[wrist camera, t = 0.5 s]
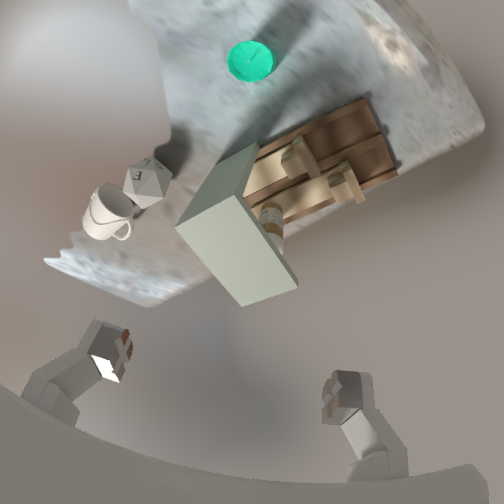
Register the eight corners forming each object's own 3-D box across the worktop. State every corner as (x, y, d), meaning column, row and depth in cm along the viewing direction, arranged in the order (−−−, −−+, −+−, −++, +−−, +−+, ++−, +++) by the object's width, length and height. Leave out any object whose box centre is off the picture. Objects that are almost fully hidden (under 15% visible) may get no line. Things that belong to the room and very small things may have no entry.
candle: (233, 66, 41) (215, 69, 32) (252, 38, 38) (240, 31, 28) (264, 84, 43) (255, 91, 33) (284, 56, 39) (282, 54, 30)
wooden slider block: (301, 133, 46) (302, 142, 41) (318, 162, 48) (320, 175, 44) (228, 171, 52) (221, 184, 47) (246, 197, 54) (241, 212, 50)
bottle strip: (346, 157, 47) (351, 169, 42) (359, 185, 50) (365, 200, 45) (249, 203, 55) (245, 218, 50) (266, 227, 58) (263, 244, 53)
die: (178, 153, 52) (157, 173, 44) (177, 194, 57) (158, 220, 49) (138, 148, 52) (112, 168, 44) (139, 189, 57) (116, 213, 50)
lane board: (363, 97, 41) (365, 98, 40) (395, 171, 48) (398, 175, 47) (218, 170, 53) (216, 173, 52) (261, 230, 60) (260, 235, 59)
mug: (92, 202, 61) (73, 220, 55) (109, 176, 56) (89, 193, 50) (128, 235, 66) (112, 256, 59) (148, 213, 61) (132, 233, 55)
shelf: (256, 141, 49) (234, 194, 32) (298, 208, 56) (298, 287, 39) (215, 165, 53) (174, 227, 36) (258, 226, 60) (241, 306, 43)
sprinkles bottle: (266, 222, 57) (261, 267, 46) (255, 203, 55) (247, 245, 44) (287, 214, 55) (288, 258, 45) (277, 194, 53) (275, 234, 42)
